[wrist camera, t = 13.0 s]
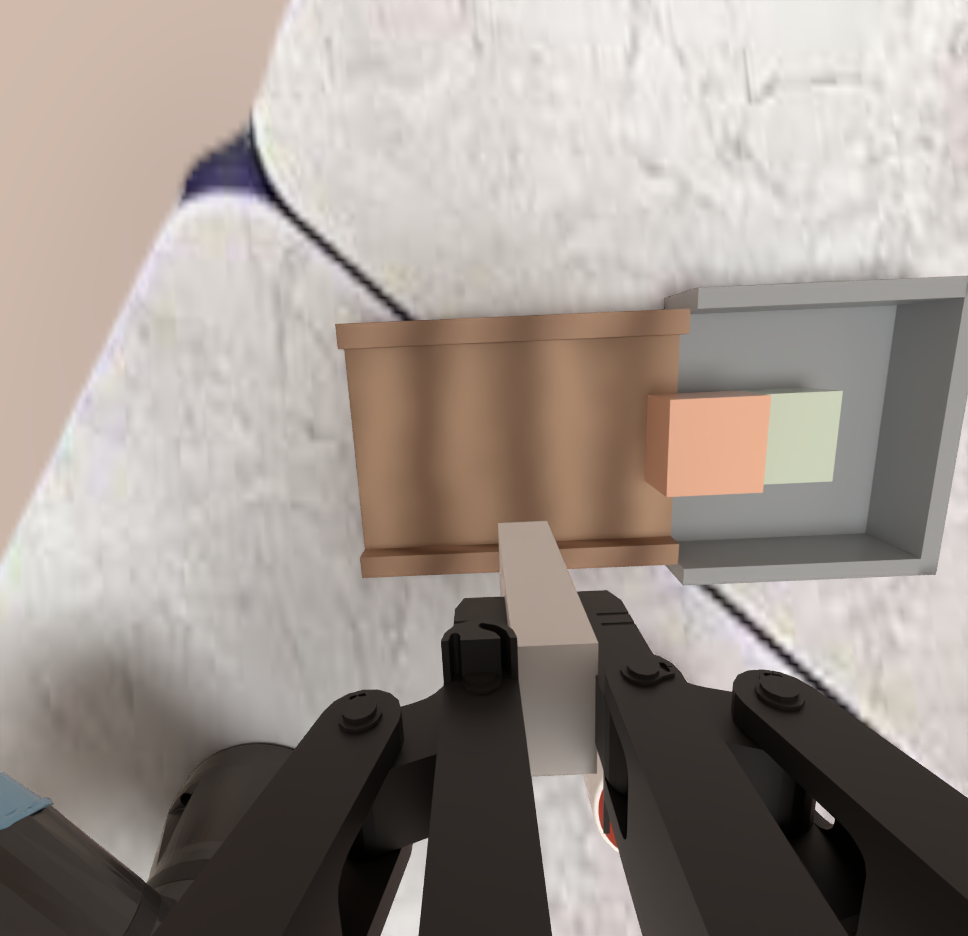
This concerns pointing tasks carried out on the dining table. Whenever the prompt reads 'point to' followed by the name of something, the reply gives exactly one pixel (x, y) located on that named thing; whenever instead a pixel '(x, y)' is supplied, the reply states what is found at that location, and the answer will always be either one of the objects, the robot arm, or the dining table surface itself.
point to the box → (861, 435)
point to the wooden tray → (509, 437)
